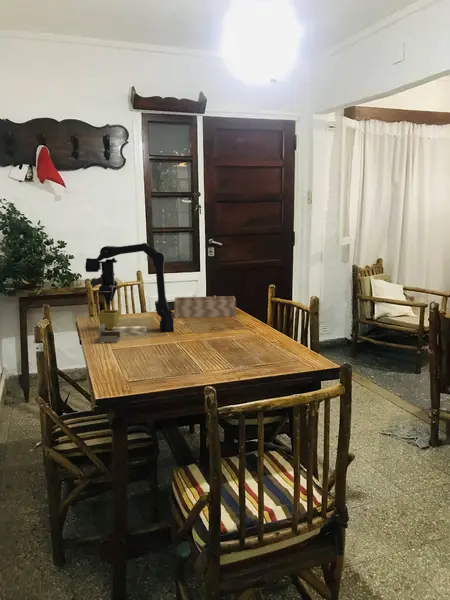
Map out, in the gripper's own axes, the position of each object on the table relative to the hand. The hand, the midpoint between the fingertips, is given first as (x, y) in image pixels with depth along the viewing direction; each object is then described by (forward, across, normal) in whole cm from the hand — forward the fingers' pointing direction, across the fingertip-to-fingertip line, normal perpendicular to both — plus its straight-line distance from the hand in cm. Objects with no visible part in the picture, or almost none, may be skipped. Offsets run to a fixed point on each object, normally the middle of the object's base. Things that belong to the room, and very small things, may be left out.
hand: (109, 303), depth 244 cm
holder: (+15, -36, +48) cm, 62 cm away
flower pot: (+15, -7, -2) cm, 17 cm away
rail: (+15, +7, +10) cm, 19 cm away
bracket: (+15, +17, +3) cm, 23 cm away
